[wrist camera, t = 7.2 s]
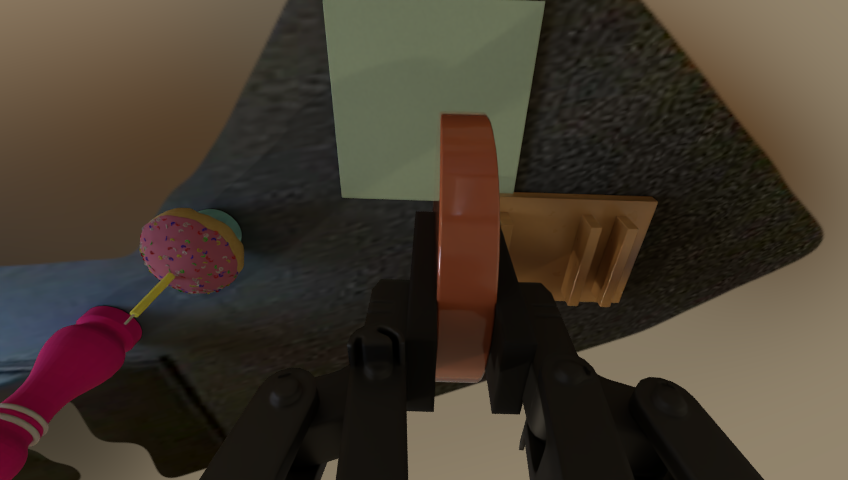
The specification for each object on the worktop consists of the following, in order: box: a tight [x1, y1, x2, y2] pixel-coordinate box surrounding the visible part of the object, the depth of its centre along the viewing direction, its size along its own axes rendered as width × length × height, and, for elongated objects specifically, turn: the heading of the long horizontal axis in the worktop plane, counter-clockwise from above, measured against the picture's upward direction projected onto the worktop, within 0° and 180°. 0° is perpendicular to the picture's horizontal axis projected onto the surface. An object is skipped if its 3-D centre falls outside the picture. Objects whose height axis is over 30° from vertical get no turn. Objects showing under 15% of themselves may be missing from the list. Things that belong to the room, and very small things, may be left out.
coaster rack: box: [499, 192, 658, 307], centre depth 36 cm, size 12×20×4 cm, turn 88°
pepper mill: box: [0, 306, 142, 480], centre depth 36 cm, size 7×7×20 cm
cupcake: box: [124, 208, 244, 325], centre depth 32 cm, size 9×8×12 cm
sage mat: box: [323, 0, 545, 201], centre depth 31 cm, size 16×16×1 cm
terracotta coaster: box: [433, 111, 500, 383], centre depth 15 cm, size 10×2×10 cm, turn 179°
